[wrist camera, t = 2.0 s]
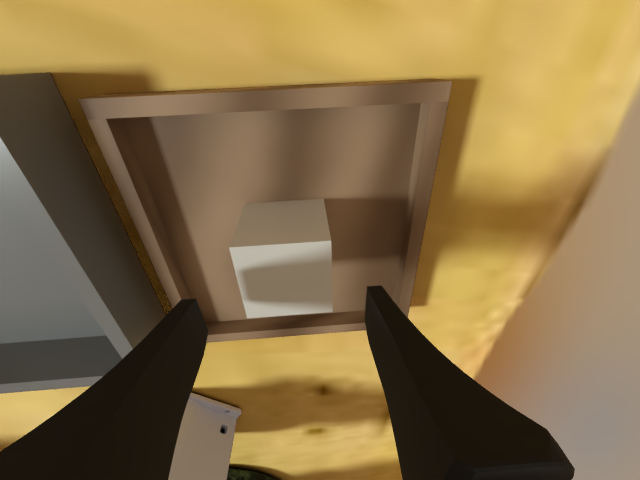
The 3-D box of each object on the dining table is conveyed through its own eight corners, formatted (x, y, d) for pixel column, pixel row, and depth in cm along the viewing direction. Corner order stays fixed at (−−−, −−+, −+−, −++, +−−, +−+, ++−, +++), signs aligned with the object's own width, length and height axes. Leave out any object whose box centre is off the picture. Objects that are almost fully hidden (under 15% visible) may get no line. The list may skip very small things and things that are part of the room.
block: (323, 198, 16) (331, 240, 12) (325, 260, 19) (332, 311, 15) (245, 203, 16) (229, 247, 12) (257, 265, 19) (247, 318, 15)
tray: (433, 78, 14) (452, 81, 12) (397, 307, 23) (405, 326, 21) (105, 94, 13) (77, 99, 12) (196, 322, 22) (188, 344, 20)
